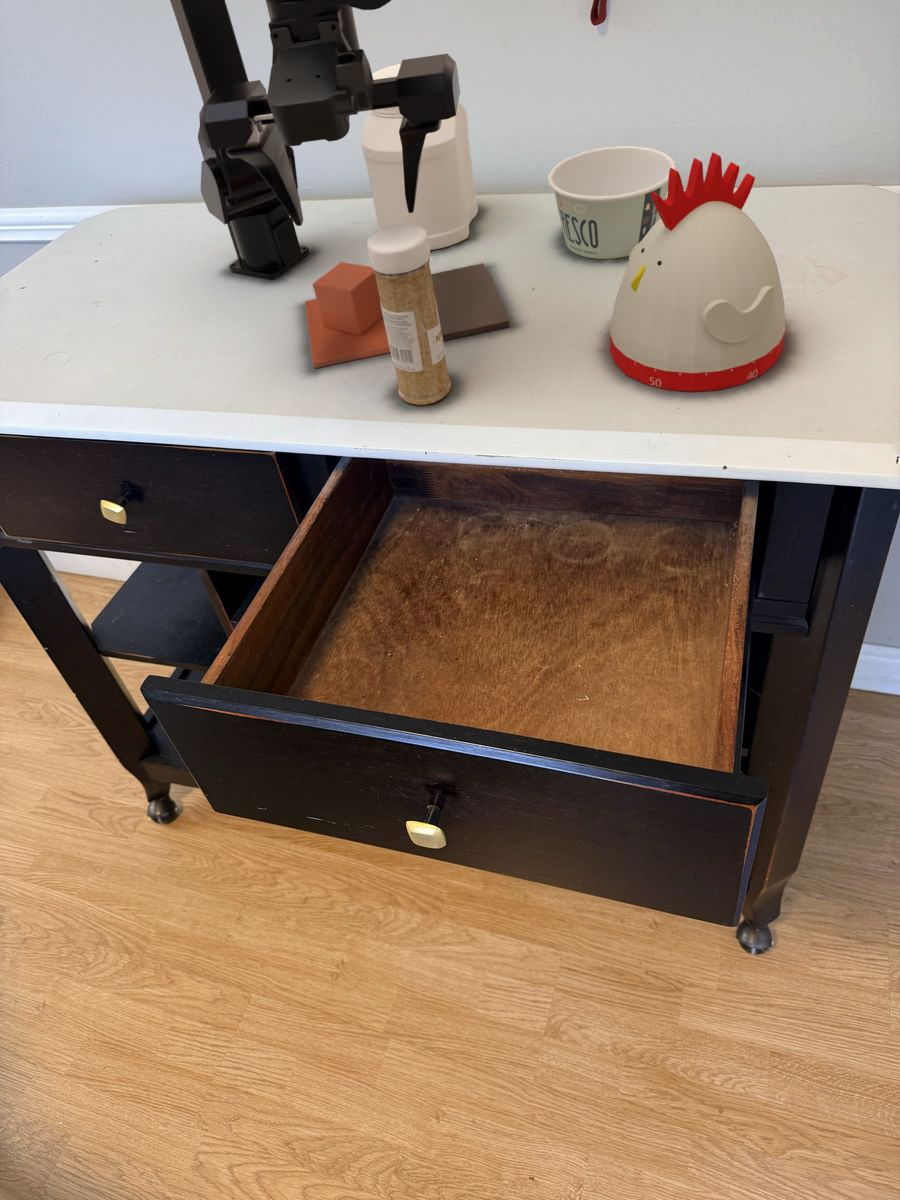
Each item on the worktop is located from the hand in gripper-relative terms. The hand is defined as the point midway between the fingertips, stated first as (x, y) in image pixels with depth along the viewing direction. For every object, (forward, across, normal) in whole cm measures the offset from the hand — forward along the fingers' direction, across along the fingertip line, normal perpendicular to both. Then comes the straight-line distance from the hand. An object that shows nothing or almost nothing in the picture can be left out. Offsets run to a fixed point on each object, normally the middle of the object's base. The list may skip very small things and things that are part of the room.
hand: (355, 217), depth 73 cm
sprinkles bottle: (+12, +4, -7) cm, 15 cm away
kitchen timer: (+12, +27, -3) cm, 30 cm away
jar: (+12, +2, +25) cm, 28 cm away
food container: (+12, +21, +18) cm, 30 cm away
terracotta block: (+12, -3, +5) cm, 13 cm away
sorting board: (+12, +1, +6) cm, 14 cm away
